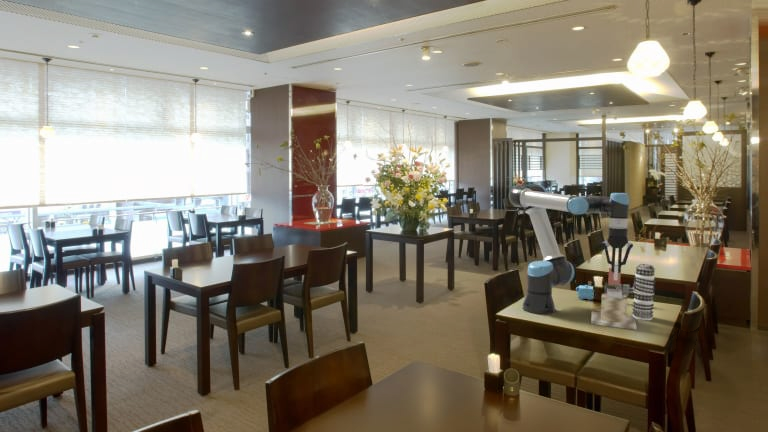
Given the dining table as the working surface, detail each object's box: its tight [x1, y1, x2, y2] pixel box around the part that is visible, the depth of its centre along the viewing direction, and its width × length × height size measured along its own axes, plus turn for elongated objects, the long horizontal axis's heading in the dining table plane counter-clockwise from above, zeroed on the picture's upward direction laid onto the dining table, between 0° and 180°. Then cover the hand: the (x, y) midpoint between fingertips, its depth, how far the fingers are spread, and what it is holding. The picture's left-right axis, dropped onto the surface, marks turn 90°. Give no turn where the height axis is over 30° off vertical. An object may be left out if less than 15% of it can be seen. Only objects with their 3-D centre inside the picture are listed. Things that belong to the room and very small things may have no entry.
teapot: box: [575, 284, 595, 301], centre depth 265 cm, size 12×6×8 cm, turn 67°
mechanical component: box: [614, 283, 635, 299], centre depth 256 cm, size 3×10×10 cm, turn 78°
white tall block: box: [607, 287, 622, 299], centre depth 225 cm, size 6×6×12 cm
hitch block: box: [590, 282, 637, 330], centre depth 225 cm, size 18×16×16 cm
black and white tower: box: [631, 263, 657, 321], centre depth 232 cm, size 9×9×25 cm
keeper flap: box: [607, 267, 622, 288], centre depth 231 cm, size 5×8×1 cm
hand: (615, 279), depth 224 cm, fingers closed
